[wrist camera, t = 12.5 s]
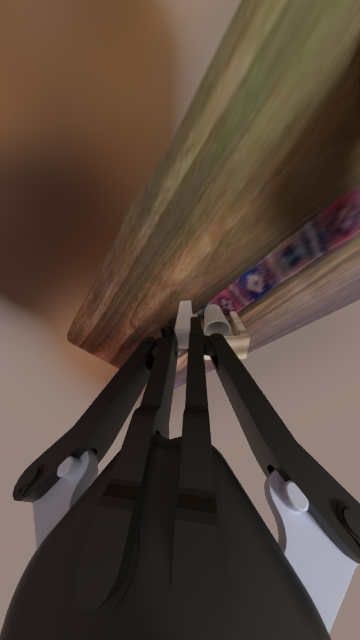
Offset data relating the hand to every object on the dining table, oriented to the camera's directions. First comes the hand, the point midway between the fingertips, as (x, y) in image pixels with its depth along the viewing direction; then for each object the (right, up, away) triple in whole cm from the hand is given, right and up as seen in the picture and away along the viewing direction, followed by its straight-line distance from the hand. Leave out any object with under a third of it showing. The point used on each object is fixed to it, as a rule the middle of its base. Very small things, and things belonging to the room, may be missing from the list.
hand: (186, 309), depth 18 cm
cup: (+11, +2, +30) cm, 32 cm away
